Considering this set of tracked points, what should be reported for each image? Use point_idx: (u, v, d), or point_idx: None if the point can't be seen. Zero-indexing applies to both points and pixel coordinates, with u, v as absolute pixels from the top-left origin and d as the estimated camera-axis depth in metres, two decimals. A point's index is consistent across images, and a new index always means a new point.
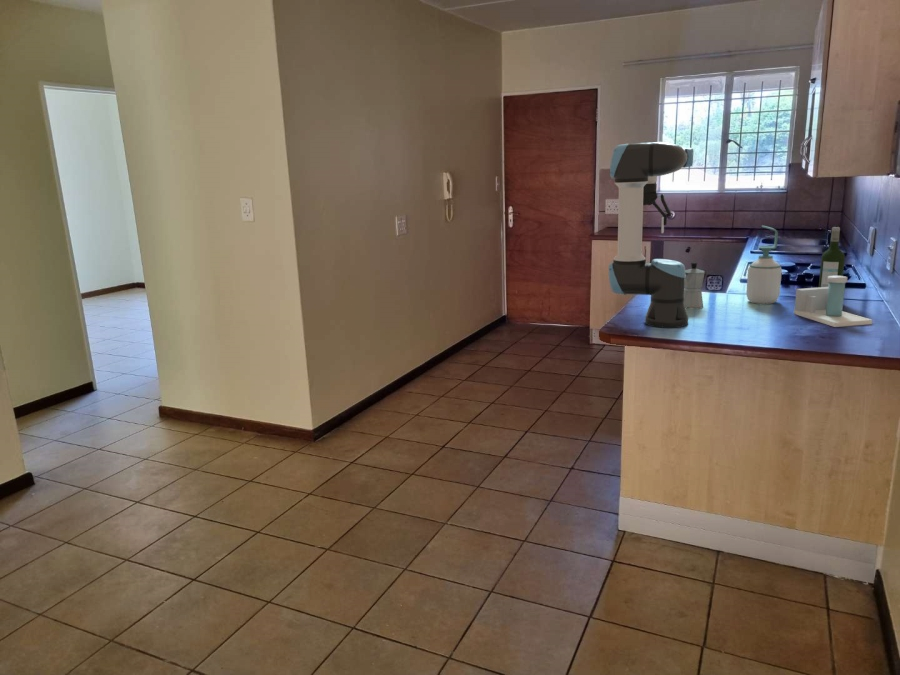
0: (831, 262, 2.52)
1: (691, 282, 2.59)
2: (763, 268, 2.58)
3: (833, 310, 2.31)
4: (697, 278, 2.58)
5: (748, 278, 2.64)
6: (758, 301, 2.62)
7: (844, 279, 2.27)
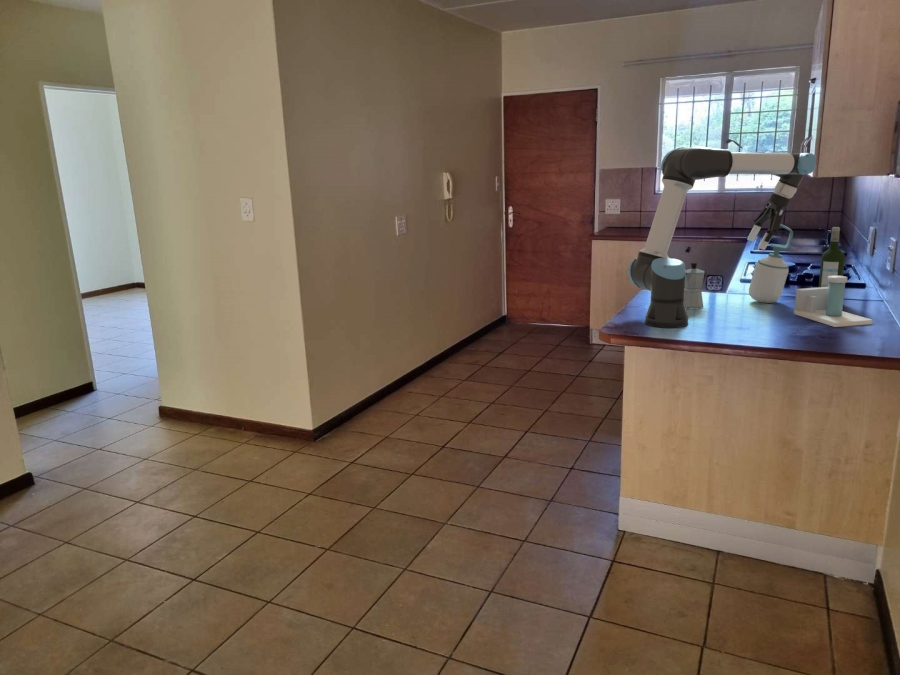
0: (831, 262, 2.52)
1: (691, 282, 2.59)
2: (771, 267, 2.56)
3: (833, 310, 2.31)
4: (697, 278, 2.58)
5: (754, 274, 2.63)
6: (759, 298, 2.62)
7: (844, 279, 2.27)
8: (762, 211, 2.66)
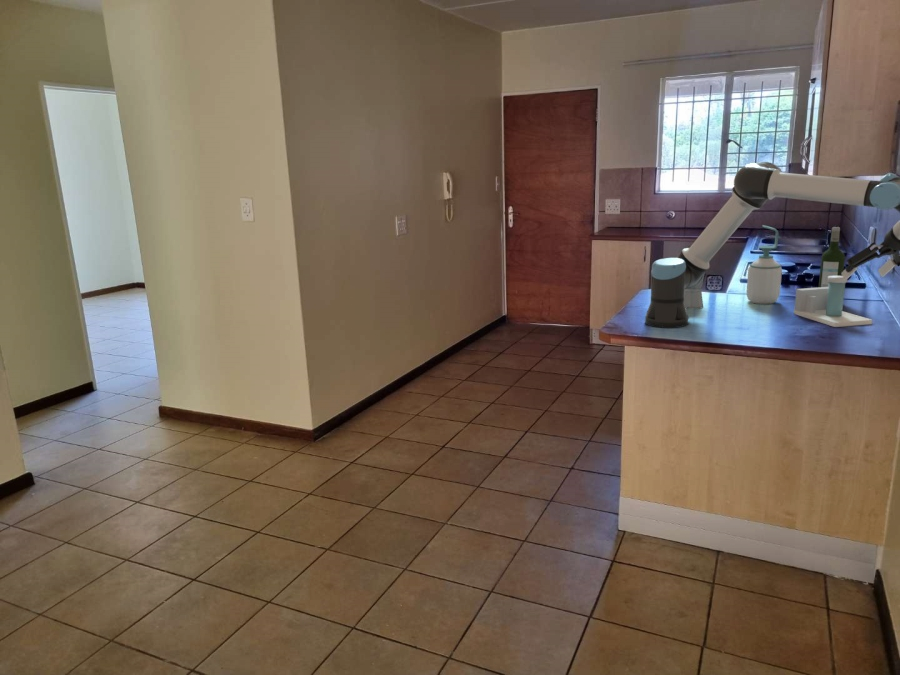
0: (831, 262, 2.52)
1: None
2: (763, 268, 2.58)
3: (833, 310, 2.31)
4: None
5: (748, 278, 2.64)
6: (758, 301, 2.62)
7: None
8: None
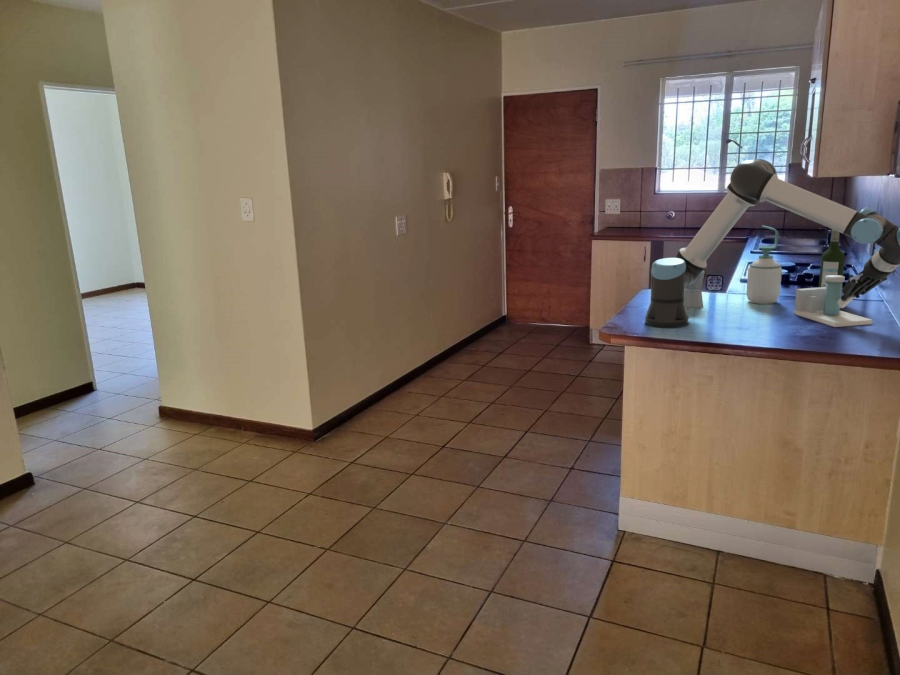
0: (831, 262, 2.52)
1: None
2: (763, 268, 2.58)
3: (831, 309, 2.32)
4: None
5: (748, 278, 2.64)
6: (758, 301, 2.62)
7: (841, 278, 2.29)
8: None
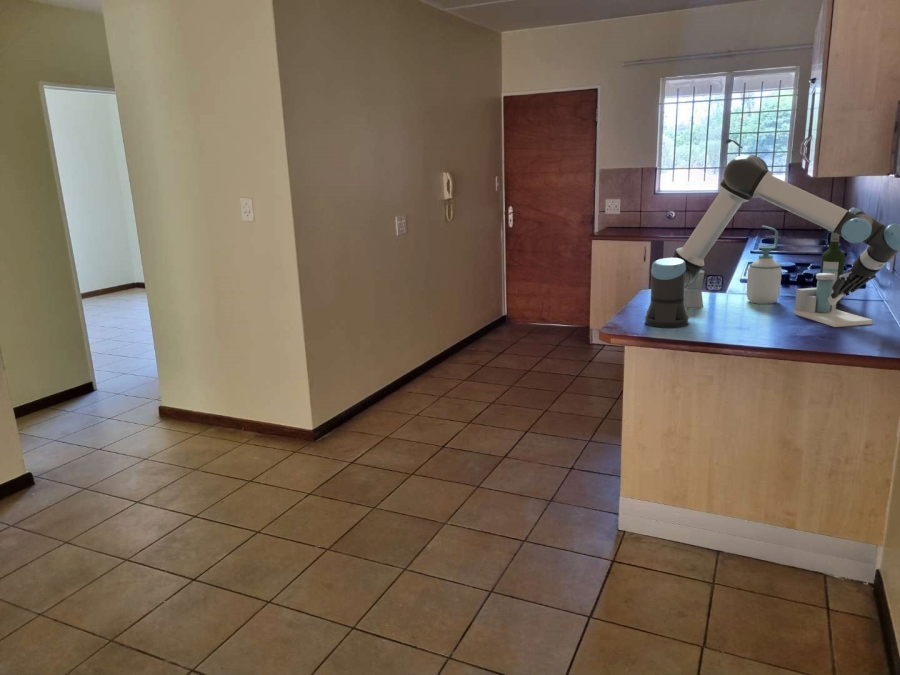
0: (831, 262, 2.52)
1: None
2: (763, 268, 2.58)
3: (821, 306, 2.37)
4: (697, 278, 2.58)
5: (748, 278, 2.64)
6: (758, 301, 2.62)
7: (832, 276, 2.33)
8: None
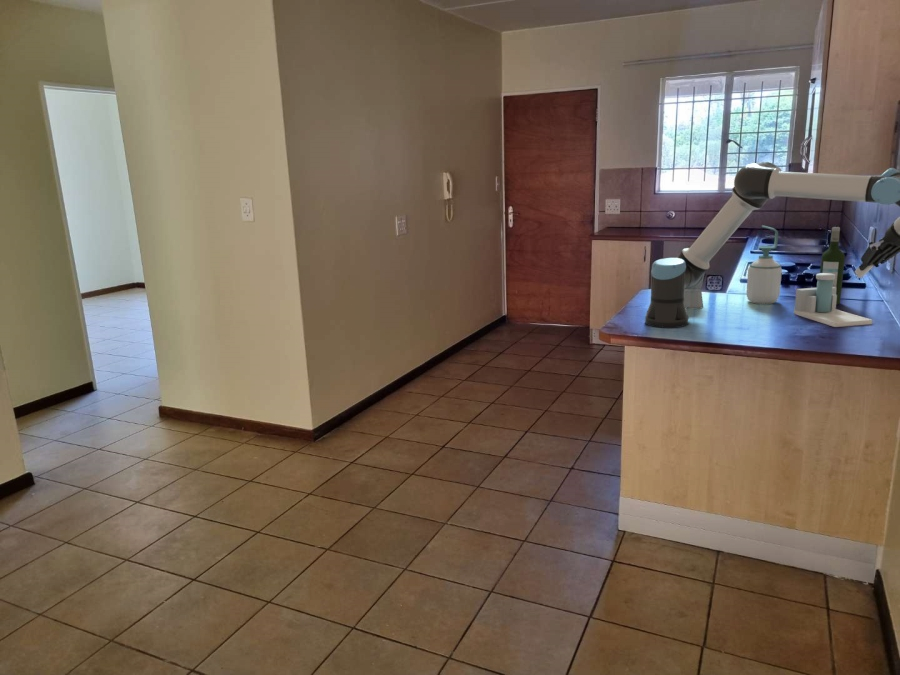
0: (831, 262, 2.52)
1: None
2: (763, 268, 2.58)
3: (821, 306, 2.37)
4: None
5: (748, 278, 2.64)
6: (758, 301, 2.62)
7: (832, 276, 2.33)
8: None
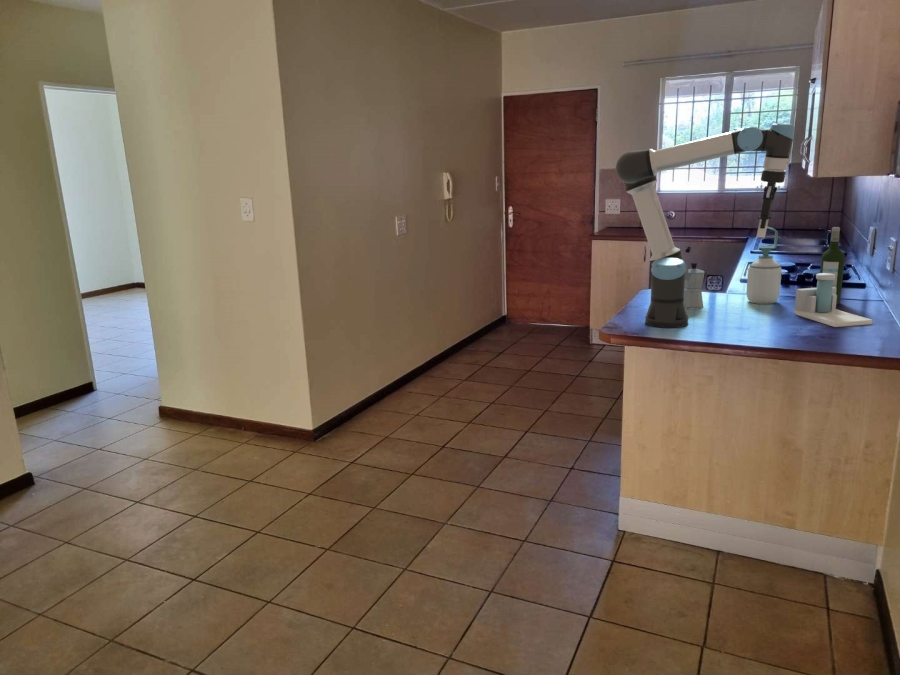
0: (831, 262, 2.52)
1: (691, 282, 2.59)
2: (763, 268, 2.58)
3: (821, 306, 2.37)
4: (697, 278, 2.58)
5: (748, 278, 2.64)
6: (758, 301, 2.62)
7: (832, 276, 2.33)
8: None
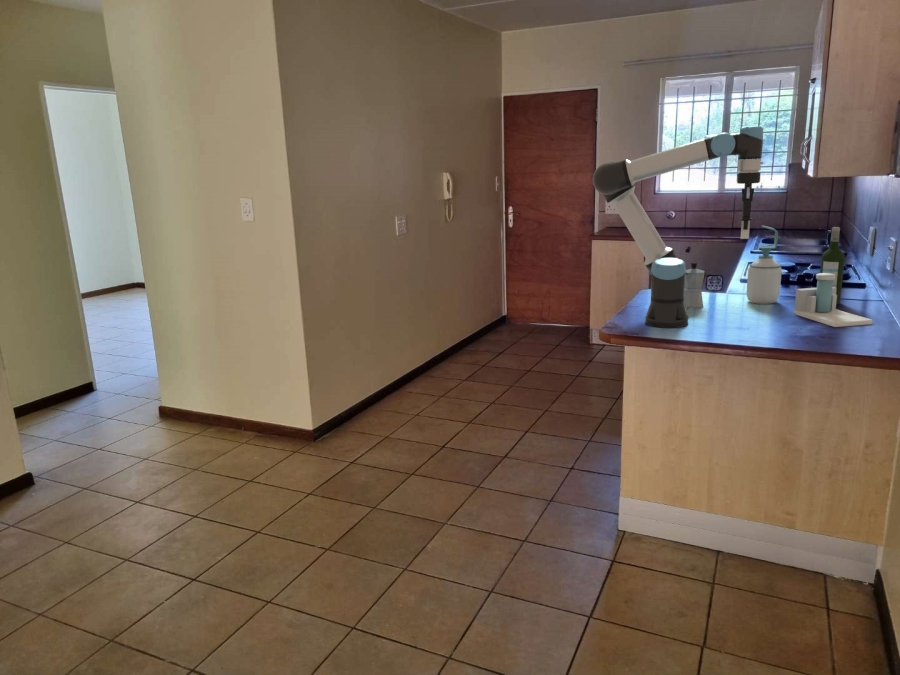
0: (831, 262, 2.52)
1: (691, 282, 2.59)
2: (763, 268, 2.58)
3: (821, 306, 2.37)
4: (697, 278, 2.58)
5: (748, 278, 2.64)
6: (758, 301, 2.62)
7: (832, 276, 2.33)
8: None
